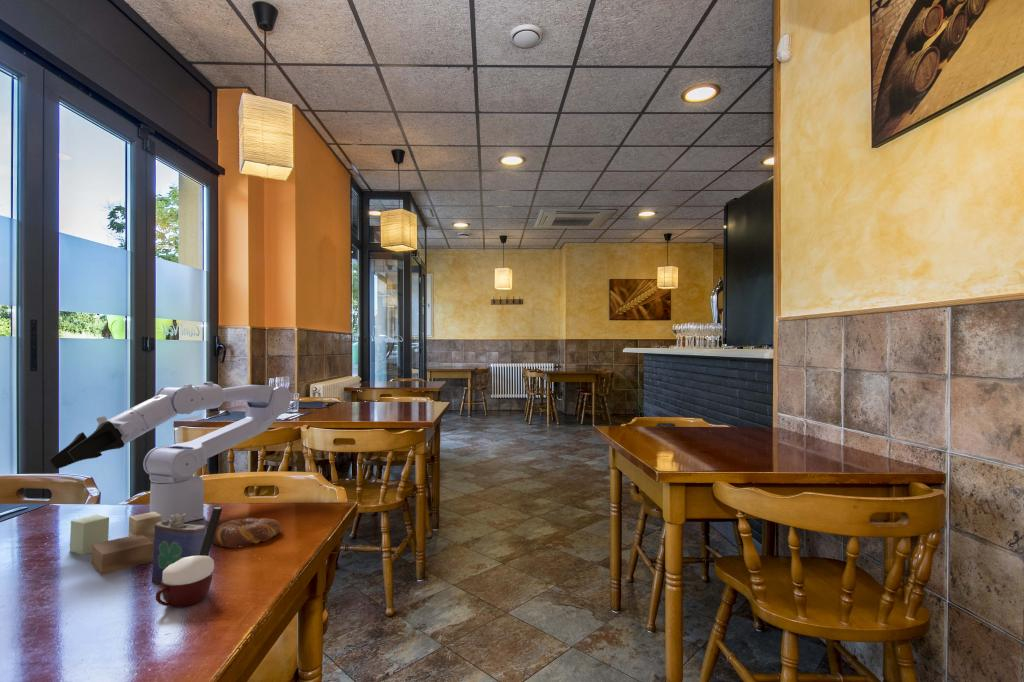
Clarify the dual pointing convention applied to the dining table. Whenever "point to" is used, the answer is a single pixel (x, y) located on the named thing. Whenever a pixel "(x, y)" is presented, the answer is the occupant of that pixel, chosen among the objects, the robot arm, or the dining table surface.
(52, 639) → the dining table surface
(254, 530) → the pretzel
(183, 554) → the flask
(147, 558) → the walnut slab
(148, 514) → the beech block
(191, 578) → the cocoa
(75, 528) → the sage block
